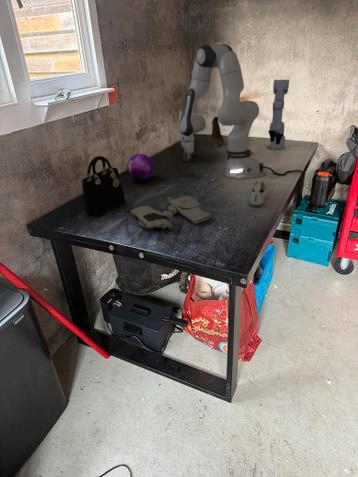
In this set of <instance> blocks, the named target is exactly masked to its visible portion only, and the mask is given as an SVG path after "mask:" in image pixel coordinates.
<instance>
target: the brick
mask: <svg viewBox="0 0 358 477" xmlns="http://www.w3.org/2000/svg"><path fill="white" fill-rule="evenodd" d="M182 158H183V161H184V162H190V161H193V153H191V154H190V158H187V153H185V152H183V153H182Z"/></svg>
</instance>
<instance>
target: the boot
mask: <svg viewBox="0 0 358 477" xmlns="http://www.w3.org/2000/svg"><path fill="white" fill-rule="evenodd" d="M211 125H212V126H211V127H212V129H211V130H212V131H211V134H210V135H211V143H212V146H213V148H214V149H215V148H218V147H219V146H221V145H222V144H224V143H225V139H224V137H223V135H222V133H221V128H220V122H219V120H218V116H214V117H213V118H212V121H211Z"/></svg>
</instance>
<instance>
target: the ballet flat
mask: <svg viewBox="0 0 358 477" xmlns="http://www.w3.org/2000/svg"><path fill="white" fill-rule="evenodd" d="M268 194H269V189H268V186H267V183H266V182H265V181H264V180H262V179H257V180H255V181H254V182H253V184H252V187H251V190H250V196H249V204H250V205H251V206H252V207H260V206H261V205H263V203H264V201H265V198H266V196H267V195H268Z"/></svg>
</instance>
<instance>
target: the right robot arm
mask: <svg viewBox="0 0 358 477" xmlns="http://www.w3.org/2000/svg"><path fill="white" fill-rule="evenodd" d="M289 88H290V79H289V78H288V79H274V80H273V86H272V89H273V90H272V92H273V95H274V99H273V102H272V120H271V122H270V123H269V129H268V131H267V132H268V135H269V140H270V143H269V146H267V148H268V149H270V150H272V151H276V150H283V149H285V144H286V137H285V127H286V126H285V122H284V121H283V111H284V109H285V96H286V95H287V94H288V92H289Z"/></svg>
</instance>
